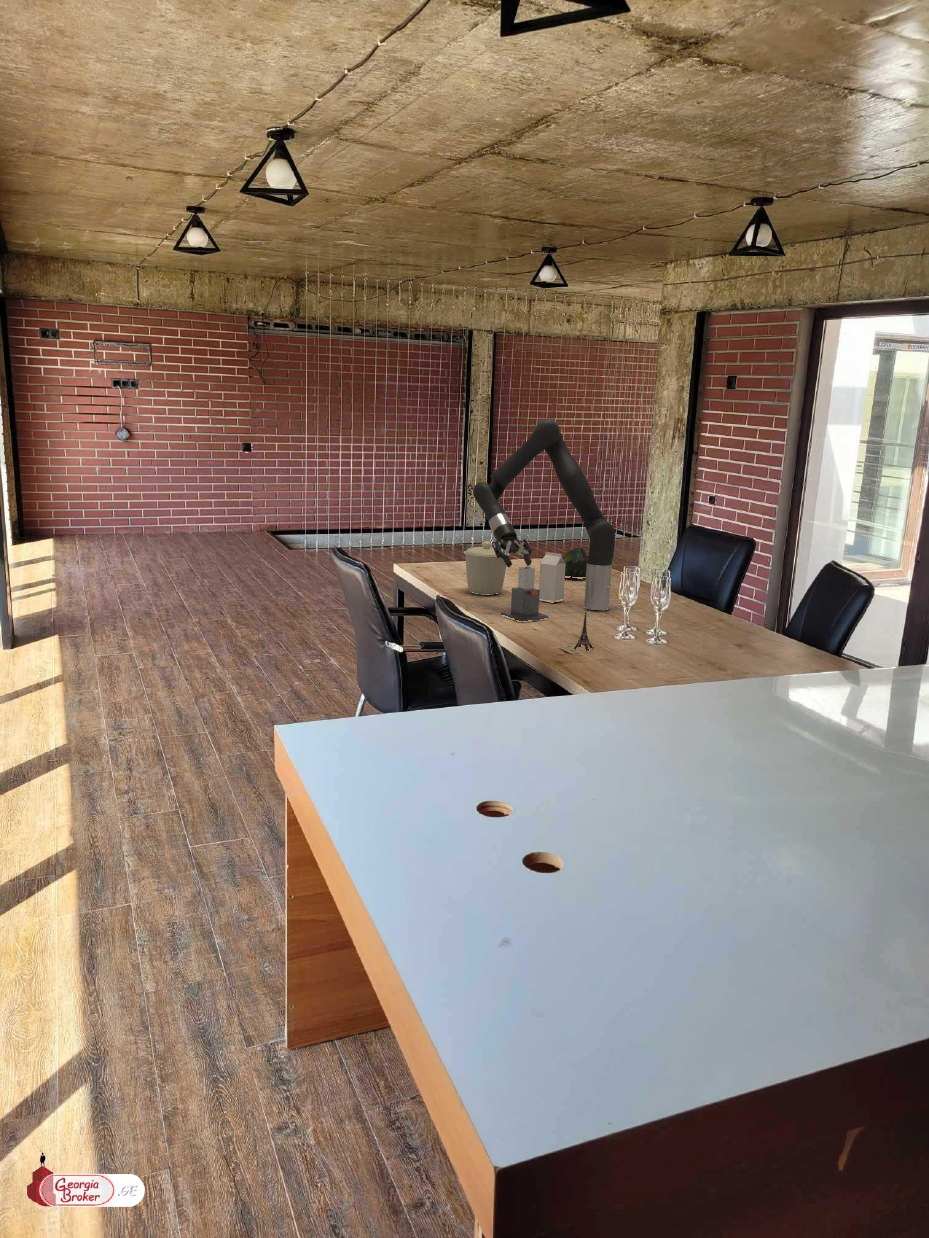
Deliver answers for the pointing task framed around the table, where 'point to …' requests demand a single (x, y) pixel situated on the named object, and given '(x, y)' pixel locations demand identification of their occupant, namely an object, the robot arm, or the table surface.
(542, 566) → the milk carton
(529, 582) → the column
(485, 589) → the canister
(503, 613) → the jack stand base
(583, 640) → the eiffel tower figurine
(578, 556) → the squash
